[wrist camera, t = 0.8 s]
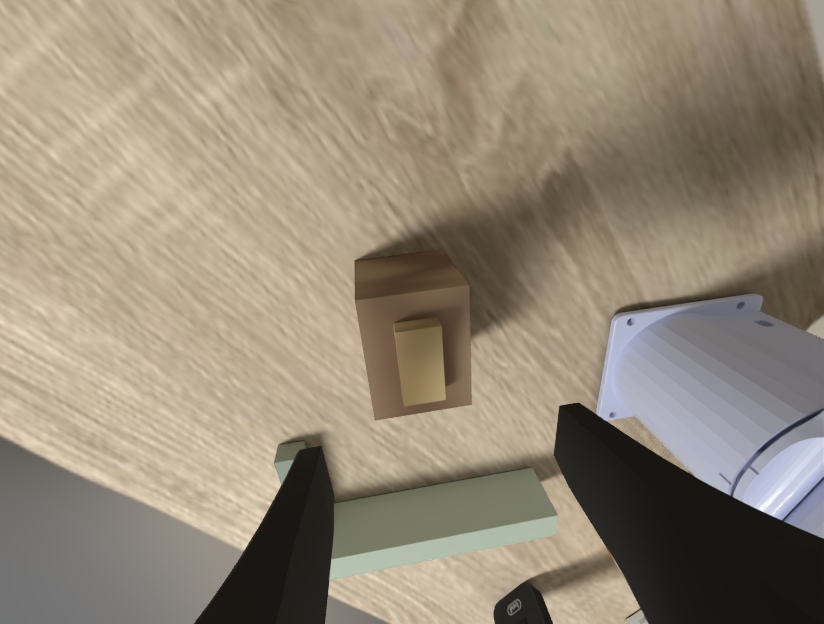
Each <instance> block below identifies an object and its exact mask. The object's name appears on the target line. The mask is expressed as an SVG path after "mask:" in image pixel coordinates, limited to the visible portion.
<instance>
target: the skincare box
mask: <svg viewBox="0 0 824 624" xmlns="http://www.w3.org/2000/svg"><path fill="white" fill-rule="evenodd" d="M625 622H626V624H649V623H648V621H647V619H646V617H645V615H644V614H643V612H642V610H640V611H638V612H637V613H635V614H634V615H632V616H630V617H629V618H627V619H626V620H625Z"/></svg>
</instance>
